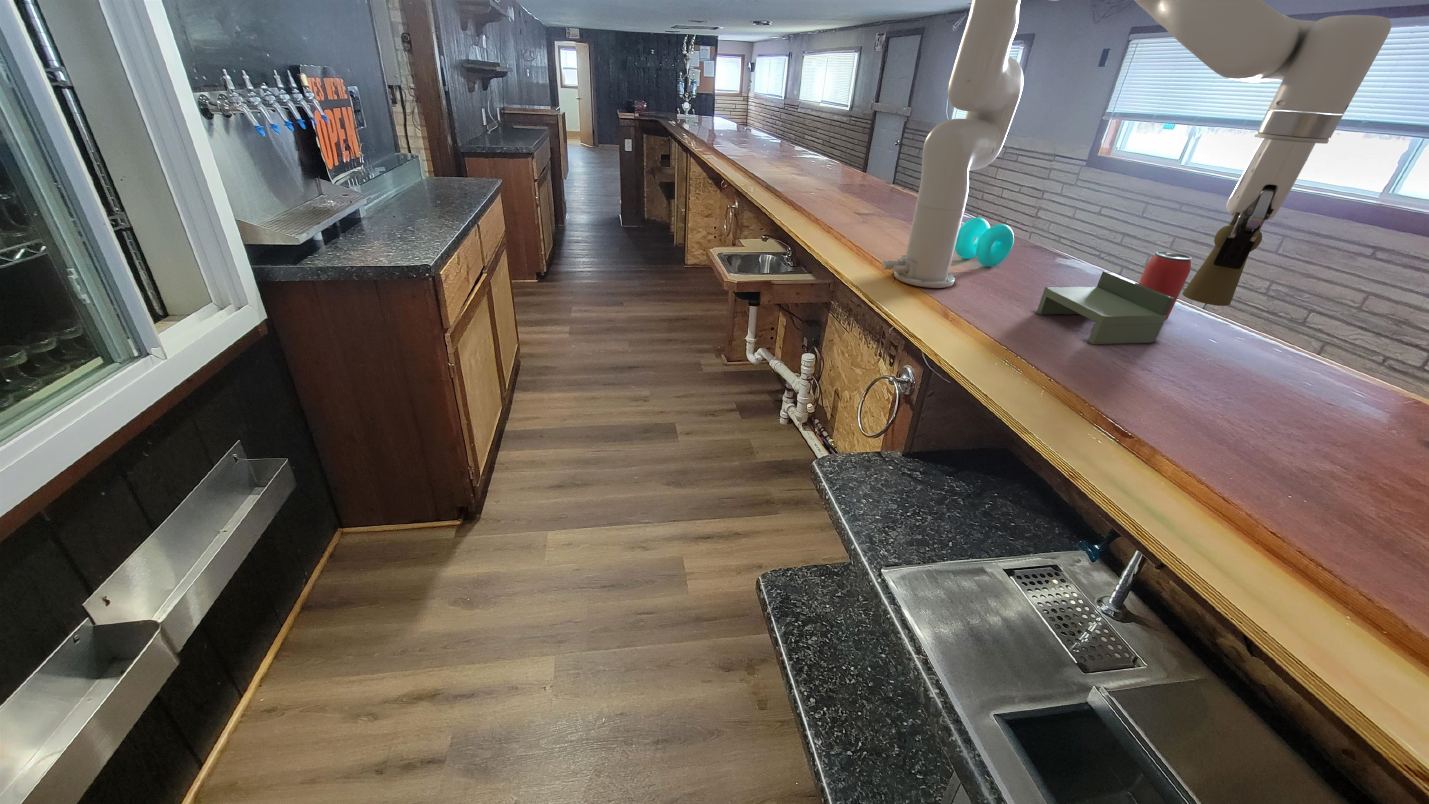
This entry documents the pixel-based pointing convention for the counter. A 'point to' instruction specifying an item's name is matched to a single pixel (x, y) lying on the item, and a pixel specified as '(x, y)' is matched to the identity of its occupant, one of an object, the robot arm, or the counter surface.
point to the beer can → (1167, 274)
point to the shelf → (1112, 309)
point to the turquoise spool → (984, 241)
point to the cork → (1216, 275)
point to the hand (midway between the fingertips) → (1225, 261)
